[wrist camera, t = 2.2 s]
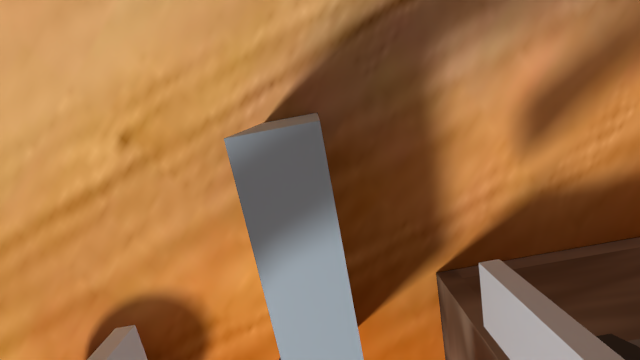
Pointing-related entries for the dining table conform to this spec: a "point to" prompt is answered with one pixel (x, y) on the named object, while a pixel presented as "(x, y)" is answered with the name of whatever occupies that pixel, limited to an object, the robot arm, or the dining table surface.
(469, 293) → the box
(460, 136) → the dining table surface
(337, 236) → the door
